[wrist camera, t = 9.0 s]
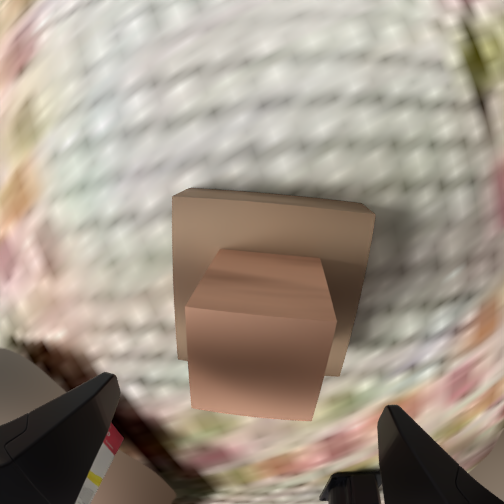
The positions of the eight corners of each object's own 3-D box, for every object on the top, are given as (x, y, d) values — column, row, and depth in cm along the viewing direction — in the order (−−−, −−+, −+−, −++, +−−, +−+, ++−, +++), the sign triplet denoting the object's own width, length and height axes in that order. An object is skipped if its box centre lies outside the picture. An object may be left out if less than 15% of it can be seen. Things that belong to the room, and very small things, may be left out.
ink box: (103, 407, 26) (50, 495, 15) (126, 438, 27) (84, 523, 16) (50, 402, 27) (0, 471, 16) (72, 431, 29) (30, 500, 18)
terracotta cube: (306, 341, 17) (311, 421, 12) (218, 332, 18) (191, 407, 12) (320, 258, 16) (336, 321, 10) (219, 248, 16) (185, 306, 10)
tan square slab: (334, 348, 21) (339, 376, 18) (190, 333, 21) (178, 359, 19) (361, 203, 17) (375, 214, 15) (189, 187, 18) (172, 196, 15)
